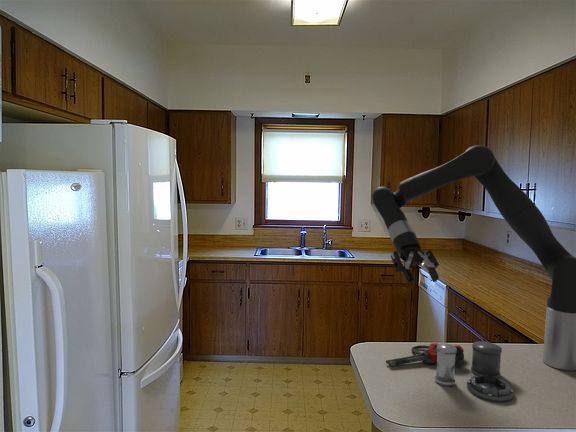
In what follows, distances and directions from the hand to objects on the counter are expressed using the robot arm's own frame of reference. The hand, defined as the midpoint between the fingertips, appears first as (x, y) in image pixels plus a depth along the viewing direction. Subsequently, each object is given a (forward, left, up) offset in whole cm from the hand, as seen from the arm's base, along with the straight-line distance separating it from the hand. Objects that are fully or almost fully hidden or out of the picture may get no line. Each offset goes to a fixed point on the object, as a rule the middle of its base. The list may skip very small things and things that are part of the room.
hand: (424, 281), depth 123 cm
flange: (-6, +20, -25) cm, 33 cm away
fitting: (+2, +13, -25) cm, 28 cm away
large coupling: (-13, +12, -25) cm, 31 cm away
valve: (-2, -2, -26) cm, 26 cm away
